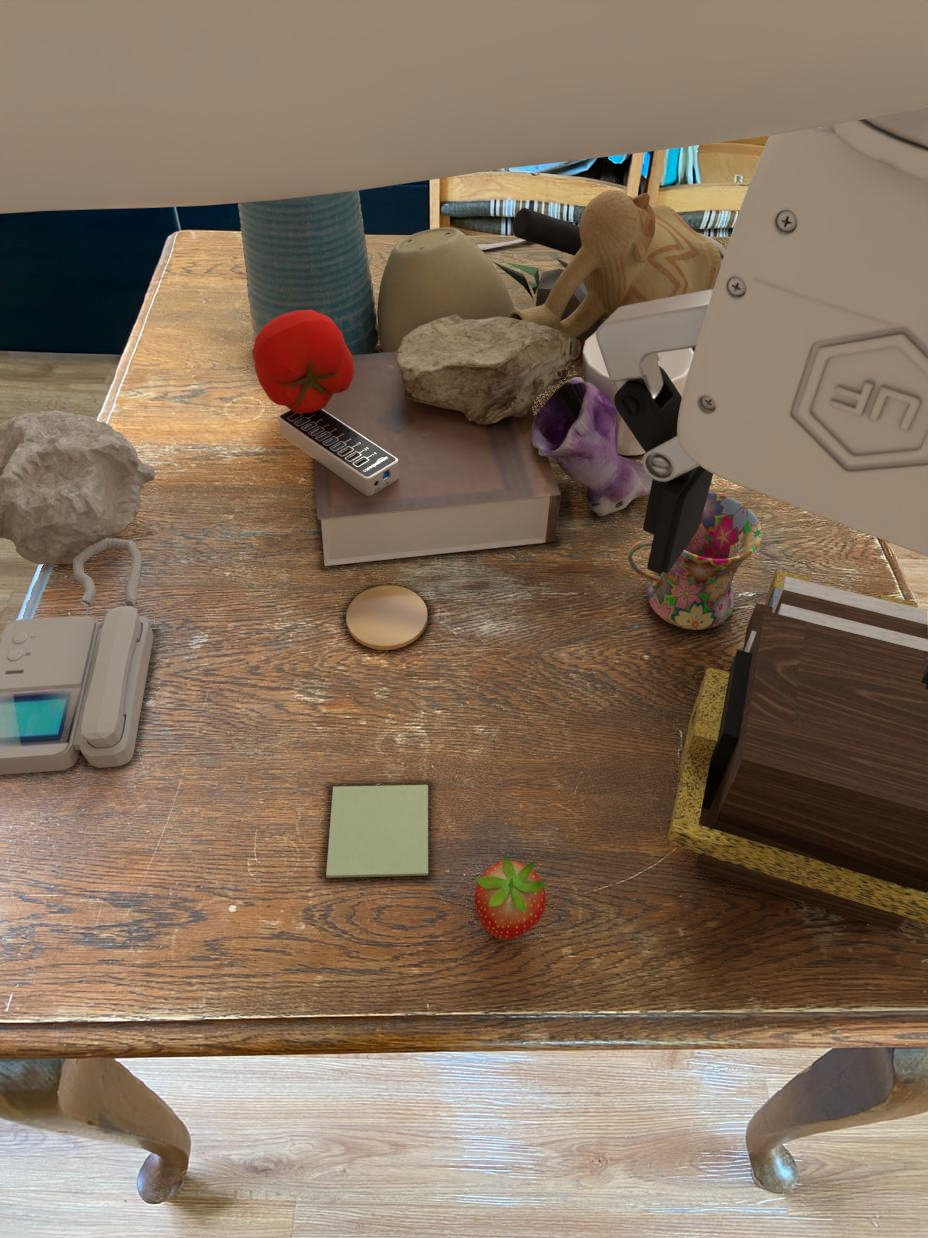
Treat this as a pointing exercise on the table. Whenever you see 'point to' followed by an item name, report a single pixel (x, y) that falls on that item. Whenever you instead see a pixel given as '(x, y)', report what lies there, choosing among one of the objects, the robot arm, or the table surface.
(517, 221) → the flashlight
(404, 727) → the table surface
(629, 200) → the ceramic vessel
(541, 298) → the succulent plant
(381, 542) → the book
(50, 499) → the stone
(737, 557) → the mug
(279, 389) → the tomato
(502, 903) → the fruit
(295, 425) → the multiport hub
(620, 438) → the cup
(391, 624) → the coaster
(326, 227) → the vase
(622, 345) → the robot arm
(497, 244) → the knife
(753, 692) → the brown wooden box
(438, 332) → the rock
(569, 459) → the figurine
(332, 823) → the napkin
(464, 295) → the flower pot
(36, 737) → the intercom
